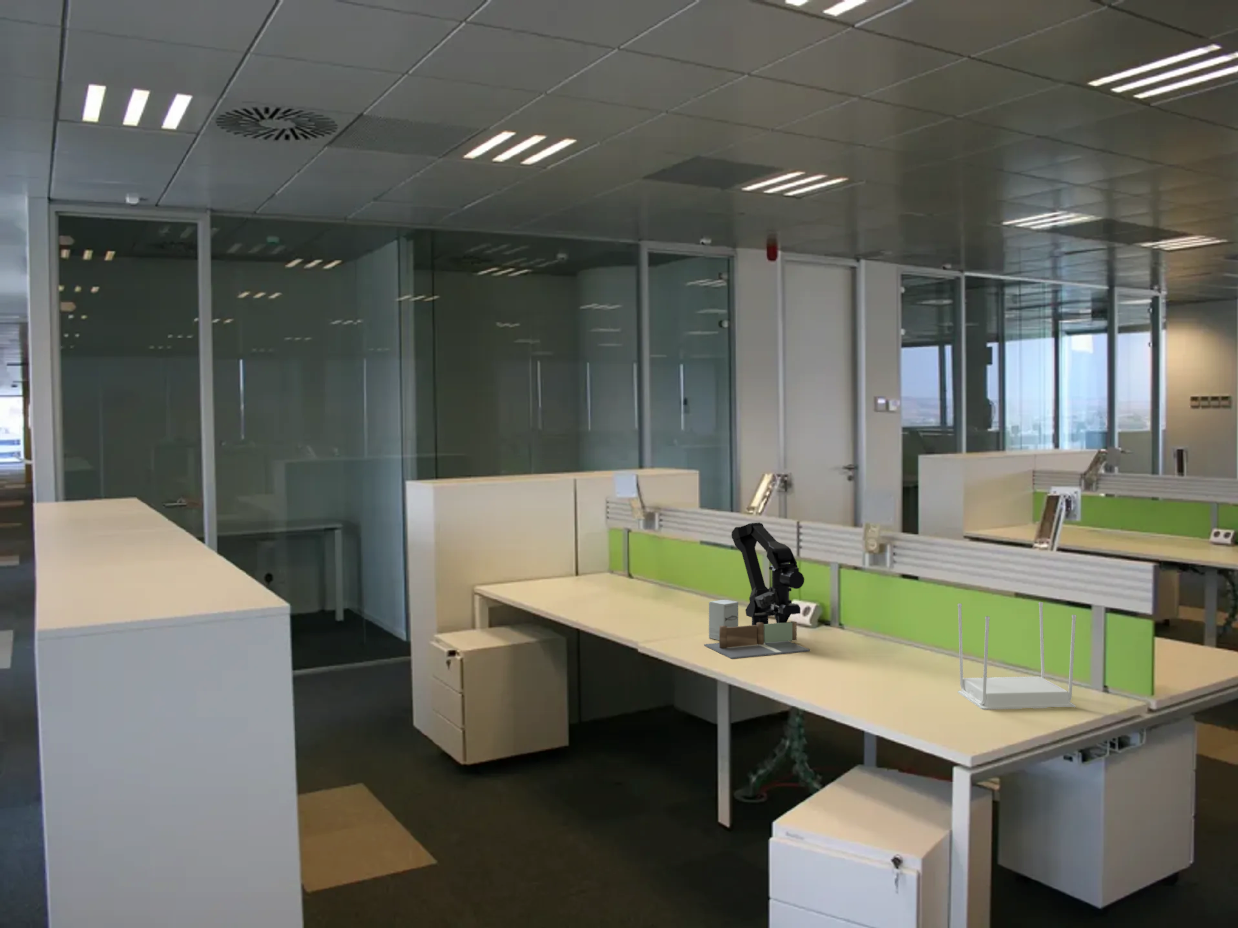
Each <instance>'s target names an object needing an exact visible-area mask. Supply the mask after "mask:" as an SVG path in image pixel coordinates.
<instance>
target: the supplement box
mask: <svg viewBox="0 0 1238 928" xmlns="http://www.w3.org/2000/svg"><path fill="white" fill-rule="evenodd" d="M719 626H727V627H738V626H739V601H735V600H730V599H719V600H714V601H713V600H712V601H709V602H708V639H712V640H716V641H719Z"/></svg>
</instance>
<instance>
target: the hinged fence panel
mask: <svg viewBox="0 0 1238 928" xmlns="http://www.w3.org/2000/svg"><path fill="white" fill-rule="evenodd" d="M797 629H798V627H797V621H795V620H794V621H787V622H784V623H776V622H775V623H774V622H772V623H768V624H764V643H771V642H781V641H790V642H793V641H795V642H796V641H797V639H798V635H797V633H798V631H797Z"/></svg>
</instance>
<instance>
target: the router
mask: <svg viewBox="0 0 1238 928" xmlns="http://www.w3.org/2000/svg"><path fill="white" fill-rule="evenodd" d="M962 605H963V604H962V603H957V611H958V612H957V615H958V616H957V617H958V645H959V646H958V650H959V654H958V656H959V686H960V689H961V690H957V694H958V695H960V696H962V697H963V698H964V699H966V700H968V701H969V702H970V703H972V704H973V705H975V706H976V707H977V708H979V709H980V710H984V711H985V710H986V711H988V710H990V711H991V710H1022V708H1033V709H1048V708H1047V707H1074V708H1076V704H1074V703H1072V702H1071V701H1072V697H1073V696H1072V695H1073V680H1074V662H1075V661H1074V660H1075V639H1076V638H1075V637H1076V622H1077V621H1076V619H1077V615H1076V614H1071V619H1072V620H1071V635H1070V651H1069V652H1070V653H1069V673H1068V674H1069V675H1068V676H1069V677H1068V690H1066V689H1064V688H1063V687H1060V686H1059V685H1057V684H1055V683H1054V682H1051V681H1049V680H1047V679H1046V678H1045V676H1046V675H1045V646H1044V643H1045V642H1044V616H1043V615H1044V614H1043V613H1044V611H1043V609H1044V608H1043V607H1044V606H1043V605H1044V602H1042V601H1039V602H1038V606H1039V607H1038V609H1039V640H1040V643H1039V645H1040V671H1041V672H1040V674H1041V676H1006V677H1005V676H1000V677H999V676H997V677H994V676H993V677H992V676H991V677H987V675H988V657H989V656H988V655H989V634H990V633H989V632H990V630H989V629H990V619H991V618H990V616H988V615H987V616H984V620H985V623H984V624H985V628H984V629H985V631H984V651H983V654H984V657H983V672H982V673H983V676H982V677H964V664H963V663H964V660H963V621H962V615H963V613H962Z"/></svg>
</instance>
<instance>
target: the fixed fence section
mask: <svg viewBox="0 0 1238 928" xmlns="http://www.w3.org/2000/svg"><path fill="white" fill-rule="evenodd" d="M718 641H719V642H718V643H719V648H722V649H724V648H727V647H738V646H748V645H757V644H758V645H763V644H764V623H761V622H758V623H756V625H752V624H751V625H738V627H727V626H719V640H718Z"/></svg>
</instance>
